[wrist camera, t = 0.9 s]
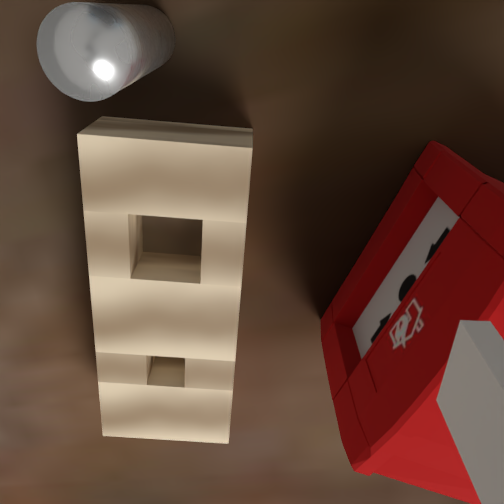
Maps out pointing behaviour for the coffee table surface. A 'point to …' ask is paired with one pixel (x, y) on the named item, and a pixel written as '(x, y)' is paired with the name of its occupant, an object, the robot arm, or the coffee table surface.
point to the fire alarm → (415, 321)
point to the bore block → (165, 272)
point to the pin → (102, 47)
